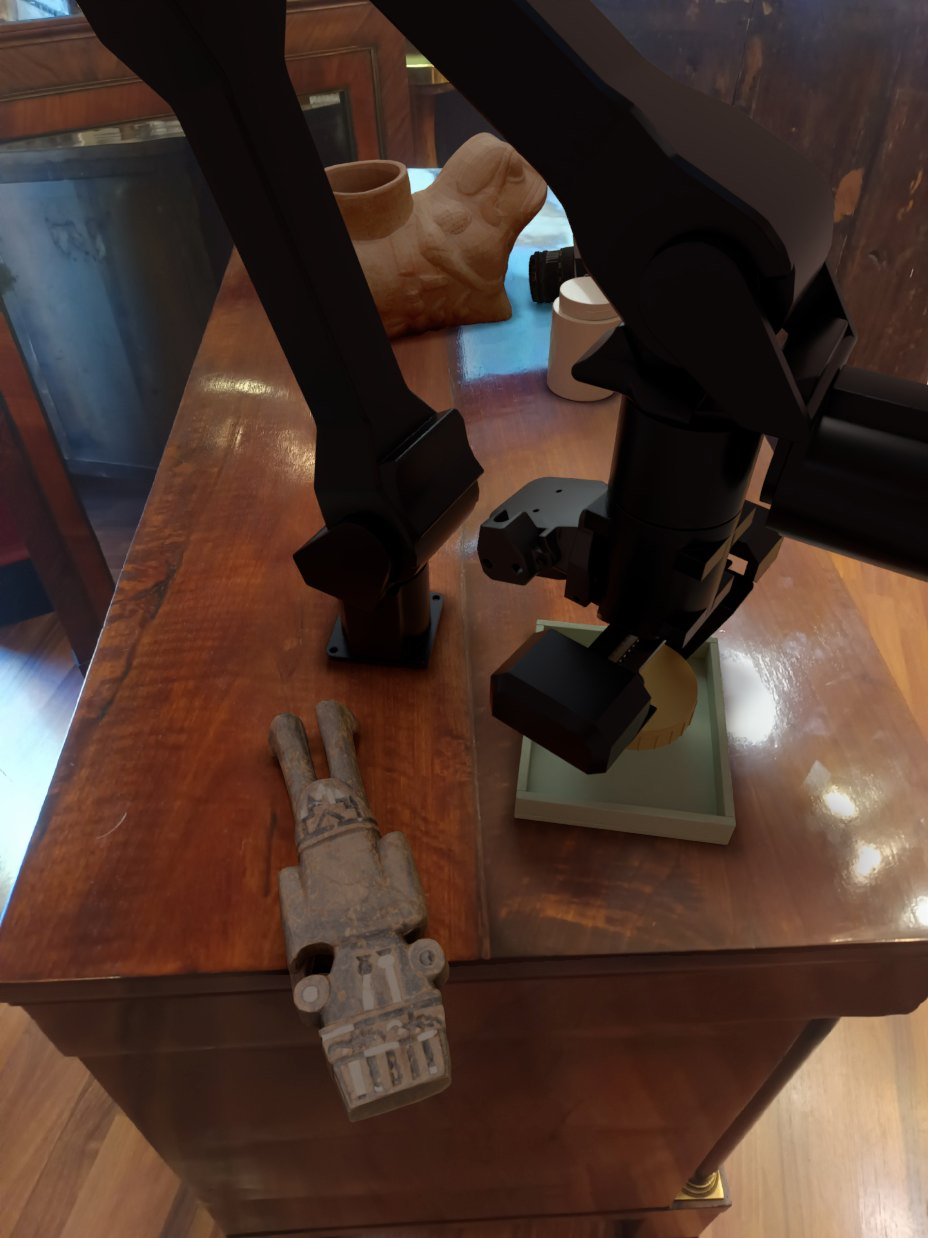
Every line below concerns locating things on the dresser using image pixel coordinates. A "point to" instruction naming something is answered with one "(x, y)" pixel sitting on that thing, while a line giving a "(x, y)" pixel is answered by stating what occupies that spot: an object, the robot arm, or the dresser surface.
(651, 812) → the tray
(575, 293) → the jar
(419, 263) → the ceramic vessel
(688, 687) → the lid
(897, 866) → the dresser surface
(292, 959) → the figurine
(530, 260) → the camera
